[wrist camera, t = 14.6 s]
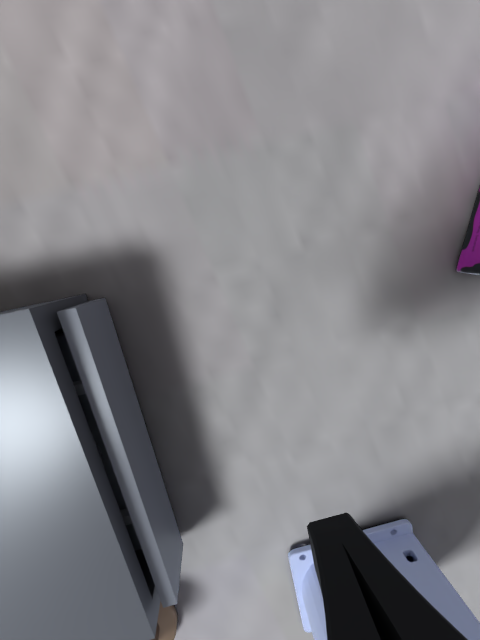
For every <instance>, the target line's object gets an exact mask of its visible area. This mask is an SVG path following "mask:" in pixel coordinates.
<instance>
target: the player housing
mask: <svg viewBox="0 0 480 640" xmlns="http://www.w3.org/2000/svg"><path fill="white" fill-rule="evenodd" d="M85 302H88V299H87V296H86V294H82V295H78V296H73V297H68V298H63V299H59V300H54V301H49V302H44V303H40V304H35V305H30V306H26V307H21V308H16V309H11V310H7V311H2V312H0V640H151V639H154V638H155V634H156V627H157V621H158V614H159V607H160V598H159V595H158V592H157V589H156V587H155V584H154V581H153V578H152V575H151V573H150V570H149V567H148V564H147V562H146V559H145V556H144V553H143V550H142V549H139V550H134V548H133V545H132V542H131V539H130V537H129V534H128V531H127V529H126V526H125V523H124V520H123V518H122V515H121V512H120V510H119V507H118V504H117V501H116V499H115V496H114V493H113V491H112V488H111V485H110V482H109V480H108V477H107V474H106V472H105V469H104V466H103V463H102V461H101V458H100V455H99V453H98V450H97V447H96V444H95V442H94V439H93V436H92V434H91V431H90V428H89V425H88V423H87V420H86V417H85V415H84V412H83V409H82V406H81V404H80V401H79V398H78V396H77V393H76V390H75V387H74V385H73V382H72V379H71V377H70V374H69V371H68V368H67V366H66V363H65V360H64V358H63V355H62V352H61V349H60V347H59V344H58V341H57V339H56V336H55V333H54V332H55V331H57V330H59V329H61V328H62V326H61V323H60V320H59V317H58V315H57V312H58V311H61V310H64V309H67V308H70V307H73V306H76V305H79V304H82V303H85Z"/></svg>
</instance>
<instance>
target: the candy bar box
mask: <svg viewBox="0 0 480 640" xmlns="http://www.w3.org/2000/svg"><path fill="white" fill-rule="evenodd" d="M456 271H457V272H461V273H468V274H474V275H479V276H480V187H479V191H478V194H477V198H476V201H475V205H474V208H473V212H472V216H471V220H470V223H469V227H468V230H467V234H466V237H465V241H464V244H463V248H462V251H461V255H460V258H459V261H458V265H457V268H456Z"/></svg>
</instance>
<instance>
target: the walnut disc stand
mask: <svg viewBox="0 0 480 640" xmlns="http://www.w3.org/2000/svg"><path fill="white" fill-rule="evenodd" d="M176 629H177V612H176V609H175V607H174V605H172V606H168V607H165V608H163V606H162V603H161V600H160V607H159V614H158V621H157V627H156V634H155V638H154V639H151V640H174V638H175V635H176Z"/></svg>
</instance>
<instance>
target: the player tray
mask: <svg viewBox="0 0 480 640" xmlns="http://www.w3.org/2000/svg"><path fill="white" fill-rule="evenodd" d="M57 315H58V317H59V320H60V323H61V326H62V329H63V331H64V333H61V334H57V335H55V336H56V339H57V341H58V344H59V347H60V349H61V352H62V355H63V358H64V360H65V363H66V366H67V368H68V371H69V374H70V377H71V379H72V382H73V385H74V387H75V390H76V393H77V396H78V398H79V401H80V404H81V406H82V409H83V412H84V415H85V417H86V420H87V423H88V425H89V428H90V431H91V434H92V436H93V439H94V441H95V442H96V443H97V445H98V446H99V448H100V450H101V452H102V455H103V458H104V469H105V472H106V474H107V477H108V480H109V482H110V485H111V488H112V491H113V493H114V496H115V499H116V501H117V504H118V507H119V510H120V512H121V515H122V518H123V520H124V523H125V526H126V529H127V531H128V534H129V537H130V539H131V542H132V545H133V548H134V550H139V549H142V550H143V553H144V556H145V559H146V562H147V564H148V567H149V570H150V573H151V575H152V578H153V581H154V584H155V587H156V589H157V592H158V595H159V598H160V600H161V603H162V606H163V608H165V607H168V606H172V605H175V604H177V602H178V592H179V582H180V572H181V561H182V551H183V542H182V539H181V536H180V533H179V529H178V526H177V523H176V520H175V517H174V514H173V510H172V507H171V504H170V501H169V498H168V495H167V491H166V488H165V485H164V482H163V479H162V476H161V473H160V469H159V466H158V463H157V460H156V457H155V454H154V450H153V447H152V444H151V441H150V438H149V435H148V431H147V428H146V425H145V422H144V419H143V416H142V413H141V409H140V406H139V403H138V400H137V397H136V394H135V390H134V387H133V384H132V381H131V378H130V375H129V371H128V368H127V365H126V362H125V359H124V356H123V352H122V349H121V346H120V343H119V340H118V337H117V334H116V330H115V327H114V324H113V321H112V318H111V315H110V311H109V308H108V305H107V302H106V299H105V298H101V299H96V300H92V301H88V302H85V303H82V304H79V305H76V306H73V307H70V308H67V309H64V310H61V311H58V312H57Z"/></svg>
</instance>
